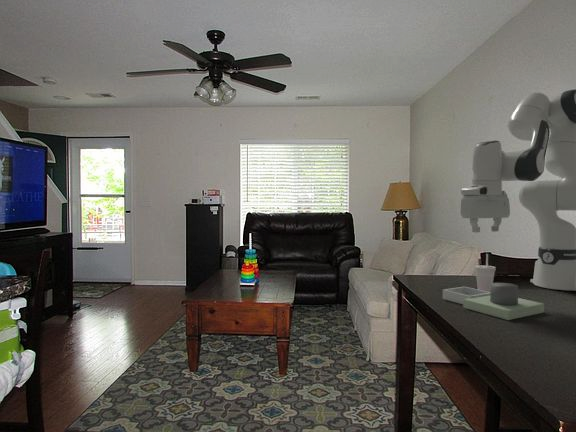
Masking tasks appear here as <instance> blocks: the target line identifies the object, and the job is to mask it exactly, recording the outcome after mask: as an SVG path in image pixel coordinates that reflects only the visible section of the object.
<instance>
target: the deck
mask: <svg viewBox="0 0 576 432" xmlns="http://www.w3.org/2000/svg"><path fill="white" fill-rule="evenodd" d="M442 299H443V300H445V301H449V302H452V303H456V304H461V305H462V306H463V307H462V308H463V309H467V310H471V311H474V312H478V313H480V314H484V315H489V316H493V317H495V318H499V319H503V320H506V321H510V320H511V321H512V320H514V319H515V320H516V319H519V318H523V317H524V318H525V317H529V316H533V315H539V314H542V313H545V303H543V302H538V301H534V300H530V299H529V300H528V299H524V298H521V297H519V286H518V285H517V284H513V283H508V282H507V283H506V282H493V283H491V287H490V292H486V291H482V290H478V288H477V289H476V288H473V287H469V286H468V287H467V286H460V287H452V288H445V289H442Z"/></svg>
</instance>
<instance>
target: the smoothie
mask: <svg viewBox="0 0 576 432" xmlns="http://www.w3.org/2000/svg"><path fill="white" fill-rule="evenodd" d="M485 256H486V257H485V258H486V259H485V265H482V264H481V265H477V264H476V265H474V270H475V277H476V284H477V285H476V286H477V289H478V290H482V291H486V292H490V287H491V283H494V278H495V272H496V268H497V267H496V266H492V265H489V253H486V255H485Z"/></svg>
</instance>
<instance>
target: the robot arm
mask: <svg viewBox="0 0 576 432" xmlns="http://www.w3.org/2000/svg"><path fill="white" fill-rule="evenodd" d="M507 127H508V131H509V132H510V134H511V135H512V136H513V137H515V138H516V139H517V140H521V141H527V142H528V141H529V142H530V145H529V147H528V148H526V149H523V150H518V151H509V152H507V151H506V152H504V151H503V150H502V143H501V141H500V140H489V141H488V140H487V141H482V142H478V143H477V144H475V145H474V150H473V156H472V164H471V165H472V167H471V169H472V172H473V175H472V176H473V177H472V180H471V184H470V185H468V186H465V187H463V188H462V189H461V190H460V194H461V199H460V200H461V201H460V215H461V218H462V219H469V223H470V225H471V227H472V229H471V231H472V233H475V234H476V233H480V232H481V226H479V225H478V222H479V219H492V221H493V224H492V225H491V228H490V230H491V232H496V233H498V232H499V231H500V225H501V223H502V219H504V218H507V219H508V218H509V217H510V215H511V214H510V213H511V209H510V208H511V207H510V199H509V197H508V194H507V193H506V191H505V190H502V189H503V188H502V187H503V186H502V185H503V182H516V181H522V182H526V183H524V184H523V185H522V186H521V187H520V189H519V191H518V199H519V202H520V204H521V205H522V207H523V208H525V209H526V210H528V211H529V212H530V214H532V215H533V217H534V218H535V220H536V221H537V224H538V229H539V247H538V250H537V253H538V254H537V256H538V259H537V260H535V262H534V270H533V271H534V272H533V278H530V281H529V282H530V283H532V284H533V285H535V286H537V287H540V288H545V289H550V290H561V291H575V292H576V226H575V225H574V224H573V223H571V222H569V221H568V220H565V219H563V218H561V217H559V216H558V213H557V211H573V212H575V211H576V89H570V90H565V91H563V92H562V93H559V94H556V95H552V96H551V97H548V96H547V95H546V94H544V93H542V92H532V93H529V94H527V95H525V97H524V98H523V99H521V100H520V102H519V103H518V104H517V106H516V107H515V108H514V110H513V111H512V113H511V115H510V117H509V119H508V122H507ZM545 169H546V170H547V171H548V172H549V173H550V174H552V175H554V176H556V177H559V178H561V179H559V180H537V179H539V177H541V176H542V174H543V173H544V171H545ZM536 180H537V181H536Z"/></svg>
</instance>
